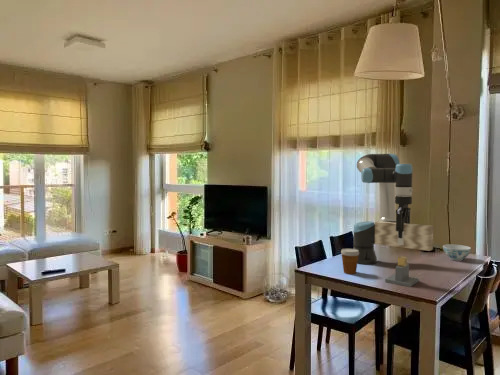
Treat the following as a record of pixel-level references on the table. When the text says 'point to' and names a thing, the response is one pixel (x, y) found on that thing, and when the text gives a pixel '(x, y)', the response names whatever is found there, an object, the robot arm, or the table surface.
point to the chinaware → (456, 251)
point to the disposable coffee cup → (349, 260)
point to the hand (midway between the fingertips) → (402, 243)
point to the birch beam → (413, 235)
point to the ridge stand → (402, 274)
